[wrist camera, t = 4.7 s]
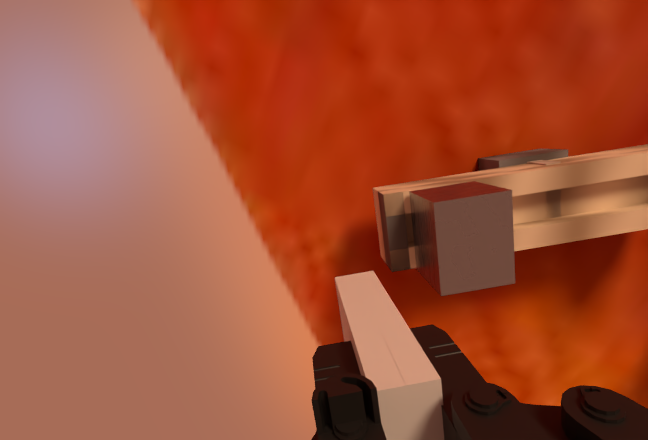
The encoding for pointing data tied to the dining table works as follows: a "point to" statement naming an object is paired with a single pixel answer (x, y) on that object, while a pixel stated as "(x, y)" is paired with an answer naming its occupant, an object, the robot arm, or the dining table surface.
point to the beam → (535, 198)
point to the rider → (464, 236)
